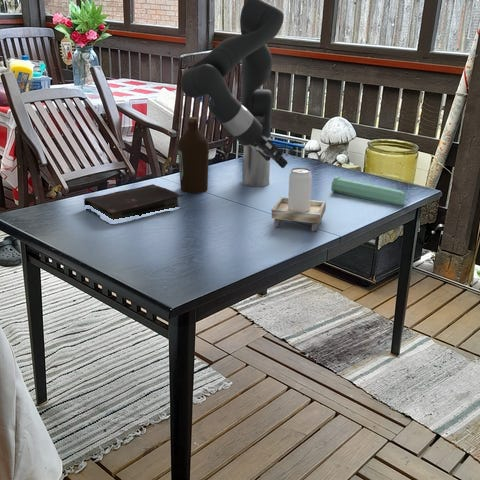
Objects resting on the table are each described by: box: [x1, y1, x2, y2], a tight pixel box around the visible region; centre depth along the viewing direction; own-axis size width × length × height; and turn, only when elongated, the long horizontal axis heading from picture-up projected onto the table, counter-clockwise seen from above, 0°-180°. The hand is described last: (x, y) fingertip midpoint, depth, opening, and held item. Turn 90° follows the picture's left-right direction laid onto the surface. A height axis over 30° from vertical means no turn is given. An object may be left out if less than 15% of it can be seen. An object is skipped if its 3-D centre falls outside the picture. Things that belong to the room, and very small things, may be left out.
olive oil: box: [177, 116, 210, 194], centre depth 202 cm, size 11×11×25 cm
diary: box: [83, 183, 183, 220], centre depth 186 cm, size 19×25×5 cm
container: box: [330, 175, 406, 206], centre depth 200 cm, size 6×6×25 cm
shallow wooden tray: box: [271, 196, 327, 232], centre depth 176 cm, size 14×12×6 cm
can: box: [287, 167, 313, 212], centre depth 173 cm, size 6×6×12 cm
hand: (277, 161), depth 166 cm, fingers open, 8 cm apart
